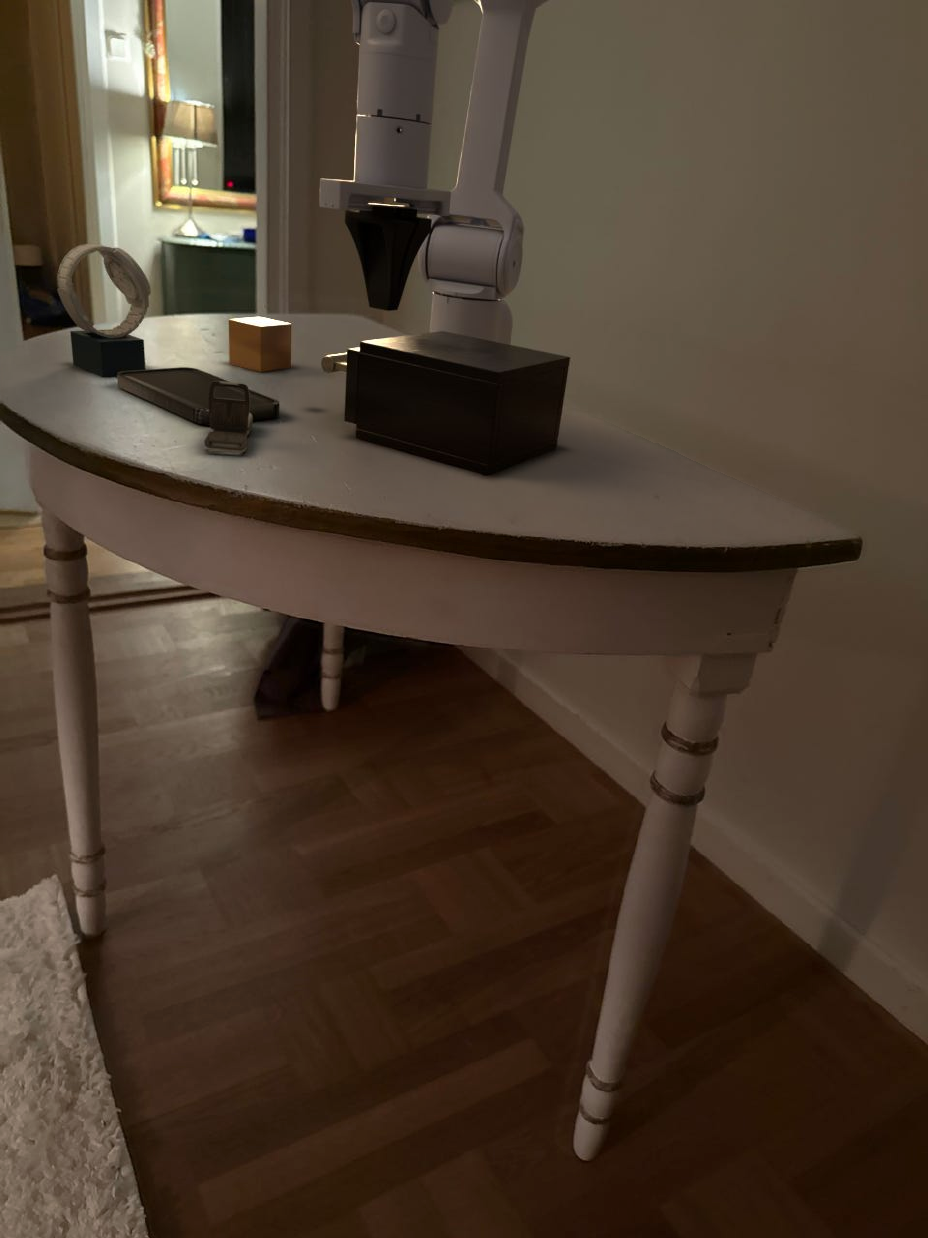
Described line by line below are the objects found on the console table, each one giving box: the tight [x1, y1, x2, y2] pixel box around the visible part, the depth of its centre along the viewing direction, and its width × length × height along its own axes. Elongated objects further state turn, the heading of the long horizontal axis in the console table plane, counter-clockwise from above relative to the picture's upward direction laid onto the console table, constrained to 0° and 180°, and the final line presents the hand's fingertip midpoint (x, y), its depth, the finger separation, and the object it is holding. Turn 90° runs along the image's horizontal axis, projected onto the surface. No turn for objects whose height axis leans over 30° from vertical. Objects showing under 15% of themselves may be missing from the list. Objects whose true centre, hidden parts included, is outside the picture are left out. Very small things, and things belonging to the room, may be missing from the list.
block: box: [228, 316, 292, 373], centre depth 91 cm, size 4×4×4 cm
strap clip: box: [203, 381, 254, 454], centre depth 66 cm, size 8×3×4 cm, turn 8°
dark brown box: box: [355, 331, 571, 476], centre depth 71 cm, size 13×12×8 cm
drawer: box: [320, 346, 360, 425], centre depth 73 cm, size 16×10×6 cm, turn 58°
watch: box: [56, 243, 152, 378], centre depth 82 cm, size 6×8×11 cm
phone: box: [116, 366, 280, 426], centre depth 76 cm, size 8×1×15 cm
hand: (383, 308), depth 72 cm, fingers closed
